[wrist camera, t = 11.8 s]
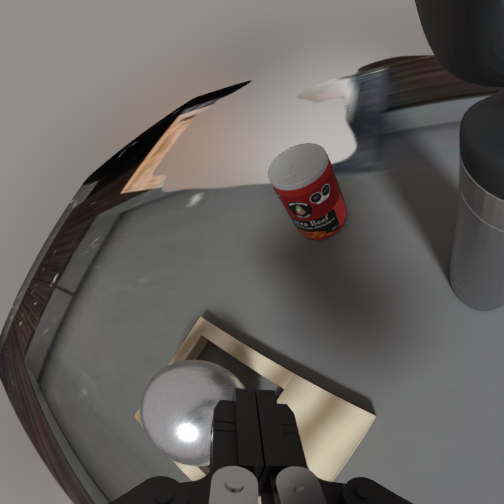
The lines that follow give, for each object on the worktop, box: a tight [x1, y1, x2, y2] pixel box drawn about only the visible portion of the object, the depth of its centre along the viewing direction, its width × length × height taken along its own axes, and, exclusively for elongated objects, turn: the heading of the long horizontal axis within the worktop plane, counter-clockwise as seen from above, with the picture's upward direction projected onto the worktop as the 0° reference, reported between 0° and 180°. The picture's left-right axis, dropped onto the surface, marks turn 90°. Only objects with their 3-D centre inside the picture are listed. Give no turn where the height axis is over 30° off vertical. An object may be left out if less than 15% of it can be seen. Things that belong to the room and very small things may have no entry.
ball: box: [140, 360, 246, 466], centre depth 28 cm, size 12×12×12 cm
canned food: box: [268, 143, 347, 240], centre depth 39 cm, size 8×8×11 cm
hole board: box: [134, 317, 376, 504], centre depth 31 cm, size 26×18×2 cm
